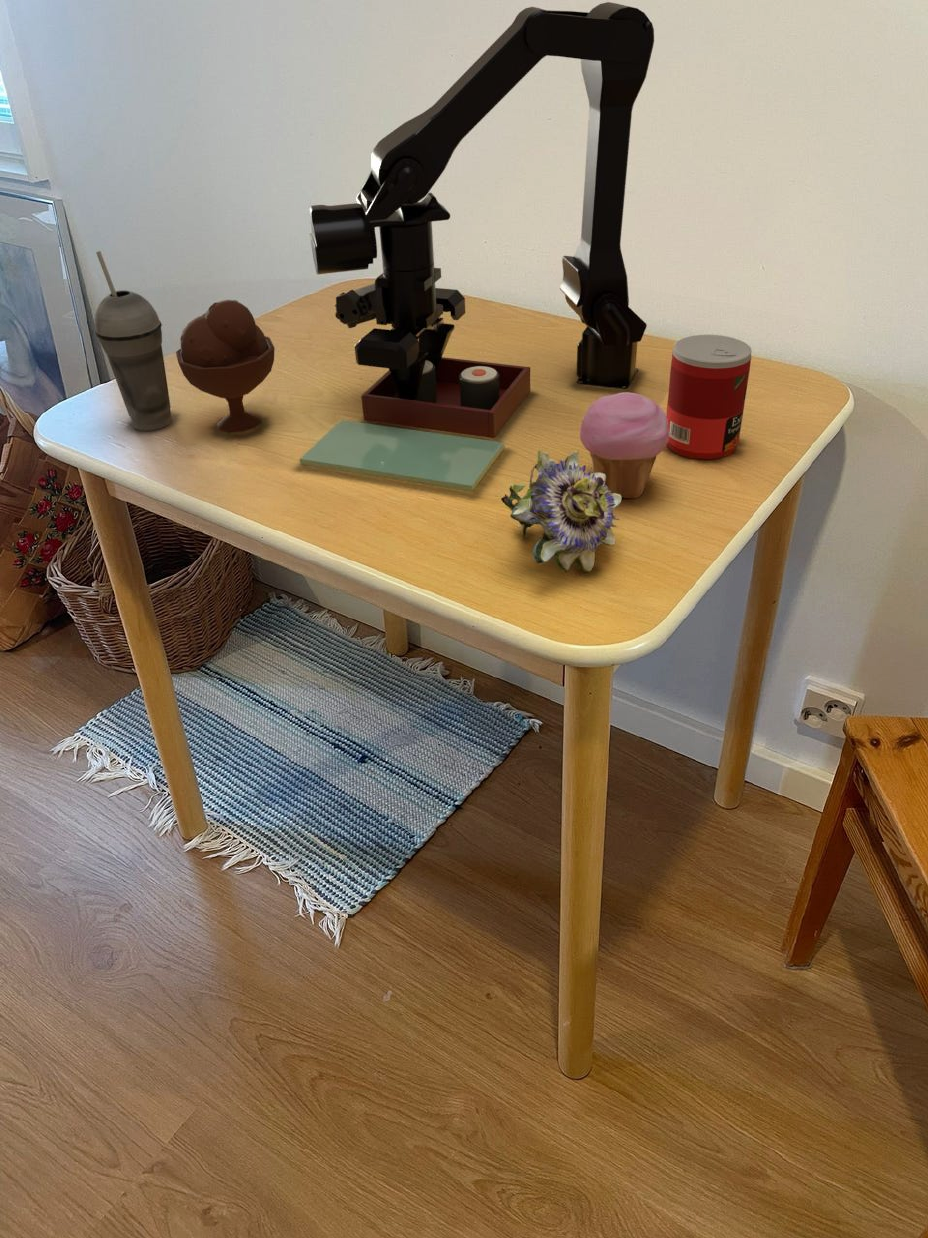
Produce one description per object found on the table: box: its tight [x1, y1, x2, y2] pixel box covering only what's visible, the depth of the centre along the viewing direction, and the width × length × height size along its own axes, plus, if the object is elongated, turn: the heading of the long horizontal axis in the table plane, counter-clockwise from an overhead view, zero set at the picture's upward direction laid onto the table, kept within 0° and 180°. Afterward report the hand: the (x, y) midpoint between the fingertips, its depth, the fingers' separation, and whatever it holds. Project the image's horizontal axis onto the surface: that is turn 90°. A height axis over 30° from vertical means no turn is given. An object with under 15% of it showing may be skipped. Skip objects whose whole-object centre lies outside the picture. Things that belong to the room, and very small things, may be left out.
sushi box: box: [360, 356, 531, 439], centre depth 114 cm, size 16×13×4 cm
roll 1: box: [398, 360, 437, 403], centre depth 114 cm, size 5×5×5 cm
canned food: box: [665, 334, 752, 460], centre depth 102 cm, size 8×8×11 cm
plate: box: [299, 419, 505, 492], centre depth 105 cm, size 20×10×1 cm, turn 69°
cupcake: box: [579, 391, 670, 499], centre depth 95 cm, size 9×9×10 cm
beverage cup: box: [94, 250, 173, 432], centre depth 109 cm, size 7×7×20 cm
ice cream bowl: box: [175, 299, 276, 433], centre depth 109 cm, size 11×11×15 cm
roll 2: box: [459, 366, 499, 410], centre depth 112 cm, size 5×5×5 cm
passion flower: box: [500, 449, 623, 573], centre depth 88 cm, size 11×11×12 cm
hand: (417, 395), depth 115 cm, fingers closed on roll 1, 4 cm apart
